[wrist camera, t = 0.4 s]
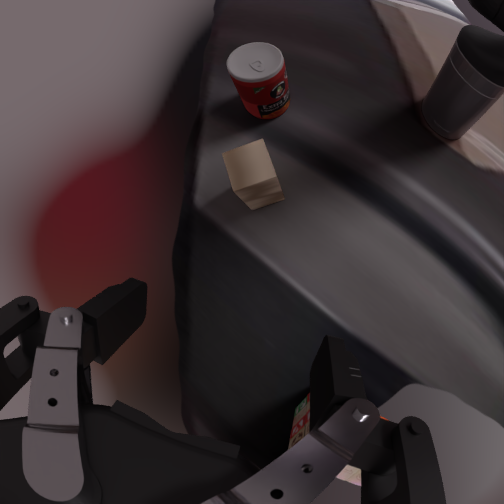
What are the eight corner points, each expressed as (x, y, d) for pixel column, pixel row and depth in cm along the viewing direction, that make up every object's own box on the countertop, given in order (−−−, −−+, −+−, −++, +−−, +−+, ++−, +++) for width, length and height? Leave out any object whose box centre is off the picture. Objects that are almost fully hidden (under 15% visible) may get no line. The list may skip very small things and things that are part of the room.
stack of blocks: (413, 432, 31) (436, 472, 19) (389, 456, 32) (404, 500, 20) (319, 379, 36) (321, 421, 24) (293, 408, 36) (285, 455, 24)
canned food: (267, 129, 40) (253, 88, 29) (234, 103, 41) (214, 63, 30) (301, 101, 39) (296, 57, 28) (267, 78, 40) (255, 35, 29)
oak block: (274, 168, 39) (262, 138, 29) (285, 199, 38) (276, 176, 29) (242, 179, 40) (222, 153, 30) (252, 210, 39) (233, 191, 29)
